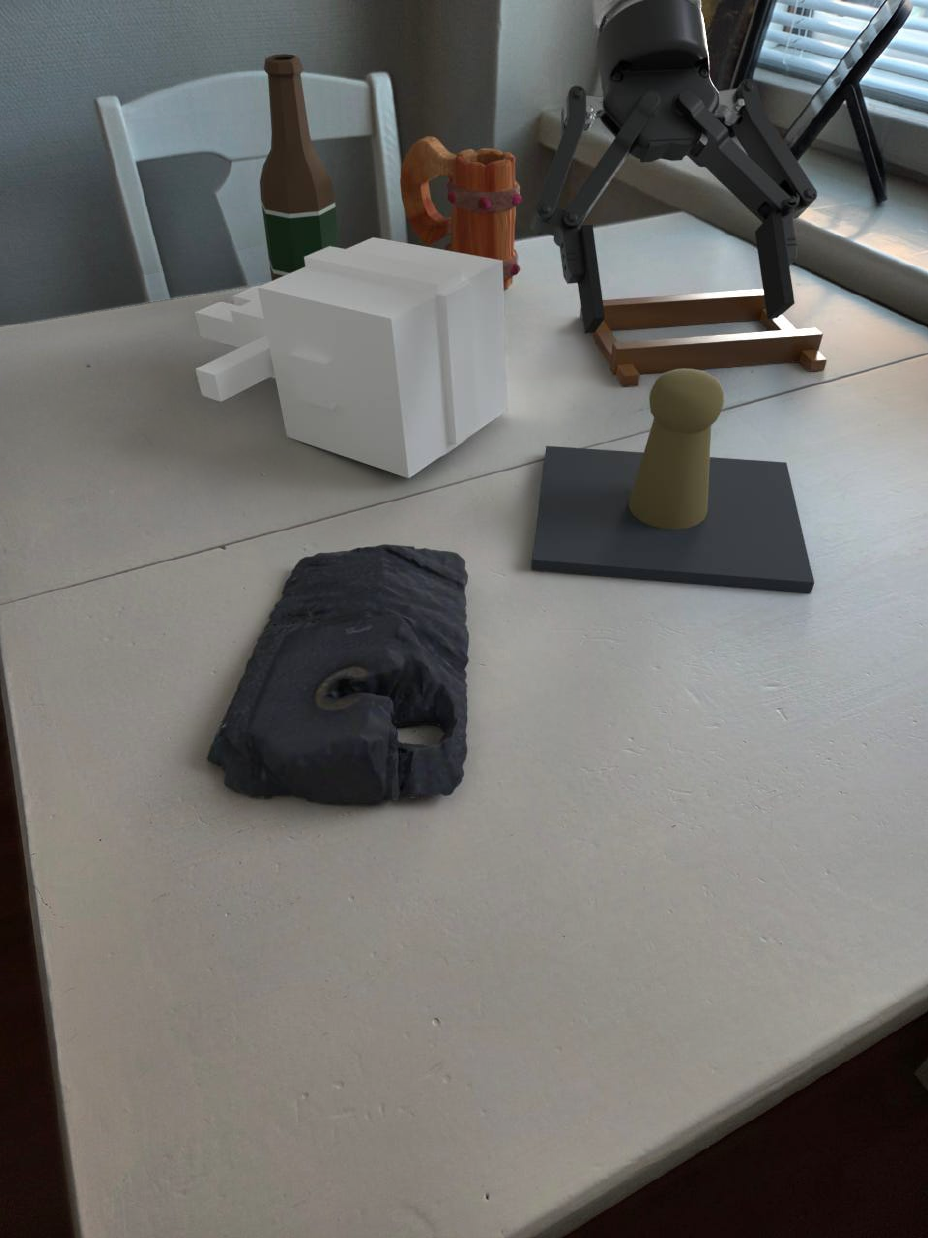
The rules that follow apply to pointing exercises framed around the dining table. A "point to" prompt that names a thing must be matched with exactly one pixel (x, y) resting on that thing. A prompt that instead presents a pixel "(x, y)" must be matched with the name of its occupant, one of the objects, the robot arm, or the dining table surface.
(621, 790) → the dining table surface
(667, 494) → the olive pawn
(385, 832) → the dining table surface
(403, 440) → the white voxel figure
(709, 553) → the mat
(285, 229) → the beer bottle
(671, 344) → the rack
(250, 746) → the folded black garment
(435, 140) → the mug
